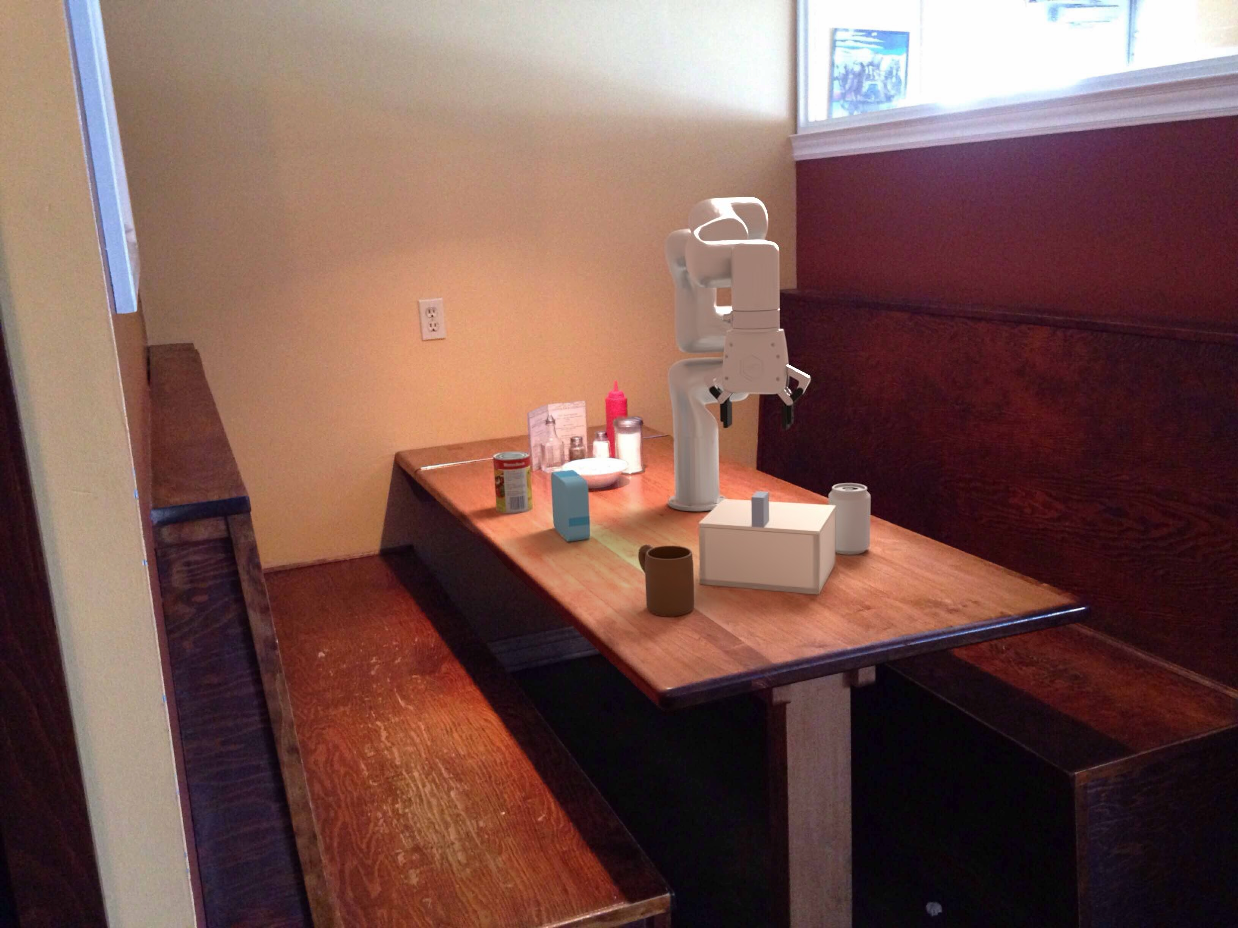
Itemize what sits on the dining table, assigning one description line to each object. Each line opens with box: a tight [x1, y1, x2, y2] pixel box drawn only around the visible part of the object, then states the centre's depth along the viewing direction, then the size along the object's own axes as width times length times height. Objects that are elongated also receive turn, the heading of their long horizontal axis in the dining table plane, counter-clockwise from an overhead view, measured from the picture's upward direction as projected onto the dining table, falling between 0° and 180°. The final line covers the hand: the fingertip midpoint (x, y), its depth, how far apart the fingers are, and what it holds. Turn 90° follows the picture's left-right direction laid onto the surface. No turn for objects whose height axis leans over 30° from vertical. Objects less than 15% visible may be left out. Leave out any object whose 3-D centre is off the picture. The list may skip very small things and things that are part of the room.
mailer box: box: [698, 509, 836, 596], centre depth 179 cm, size 16×20×10 cm
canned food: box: [492, 450, 534, 514], centre depth 228 cm, size 8×8×12 cm
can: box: [827, 482, 872, 556], centre depth 191 cm, size 8×8×12 cm
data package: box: [550, 469, 591, 543], centre depth 207 cm, size 12×4×12 cm, turn 18°
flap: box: [698, 490, 836, 535], centre depth 177 cm, size 16×20×6 cm
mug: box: [637, 544, 695, 617], centre depth 167 cm, size 12×8×9 cm, turn 32°
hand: (756, 427), depth 169 cm, fingers open, 9 cm apart
